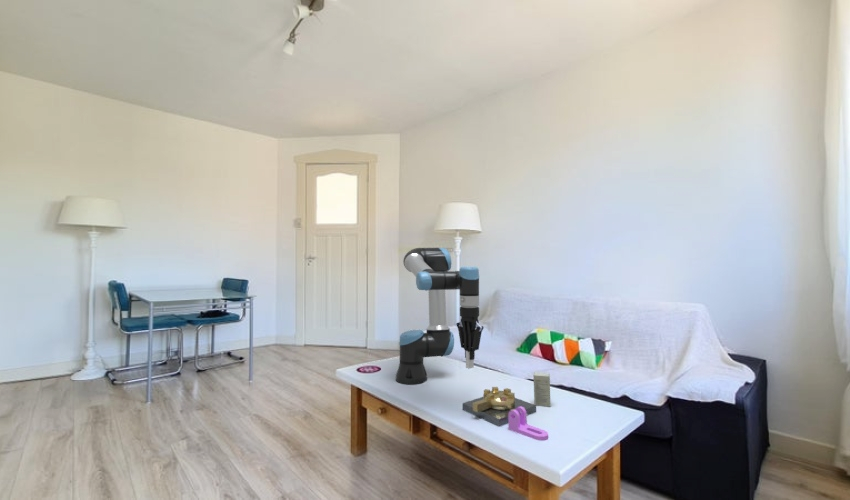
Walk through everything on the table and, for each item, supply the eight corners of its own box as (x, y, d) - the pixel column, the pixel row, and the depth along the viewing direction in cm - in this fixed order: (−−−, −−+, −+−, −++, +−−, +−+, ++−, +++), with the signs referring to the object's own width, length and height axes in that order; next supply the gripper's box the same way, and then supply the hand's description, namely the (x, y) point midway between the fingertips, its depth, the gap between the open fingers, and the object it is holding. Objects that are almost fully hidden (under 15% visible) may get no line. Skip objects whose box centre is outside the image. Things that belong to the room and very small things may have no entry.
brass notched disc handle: (497, 395, 159) (497, 384, 159) (521, 404, 149) (521, 392, 149) (463, 406, 147) (463, 394, 147) (486, 416, 137) (486, 404, 138)
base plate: (462, 409, 151) (462, 403, 151) (499, 397, 164) (498, 391, 164) (506, 429, 133) (506, 422, 133) (544, 414, 146) (543, 408, 146)
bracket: (508, 429, 134) (508, 409, 134) (517, 424, 138) (517, 405, 138) (542, 442, 125) (542, 420, 125) (551, 437, 129) (551, 415, 129)
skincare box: (550, 403, 158) (550, 373, 158) (550, 407, 154) (550, 376, 154) (534, 401, 160) (534, 371, 160) (533, 405, 156) (533, 374, 156)
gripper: (451, 305, 153) (451, 365, 152) (474, 308, 143) (474, 373, 142) (465, 304, 158) (465, 362, 157) (488, 307, 147) (488, 369, 147)
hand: (469, 367), depth 150 cm, fingers closed
